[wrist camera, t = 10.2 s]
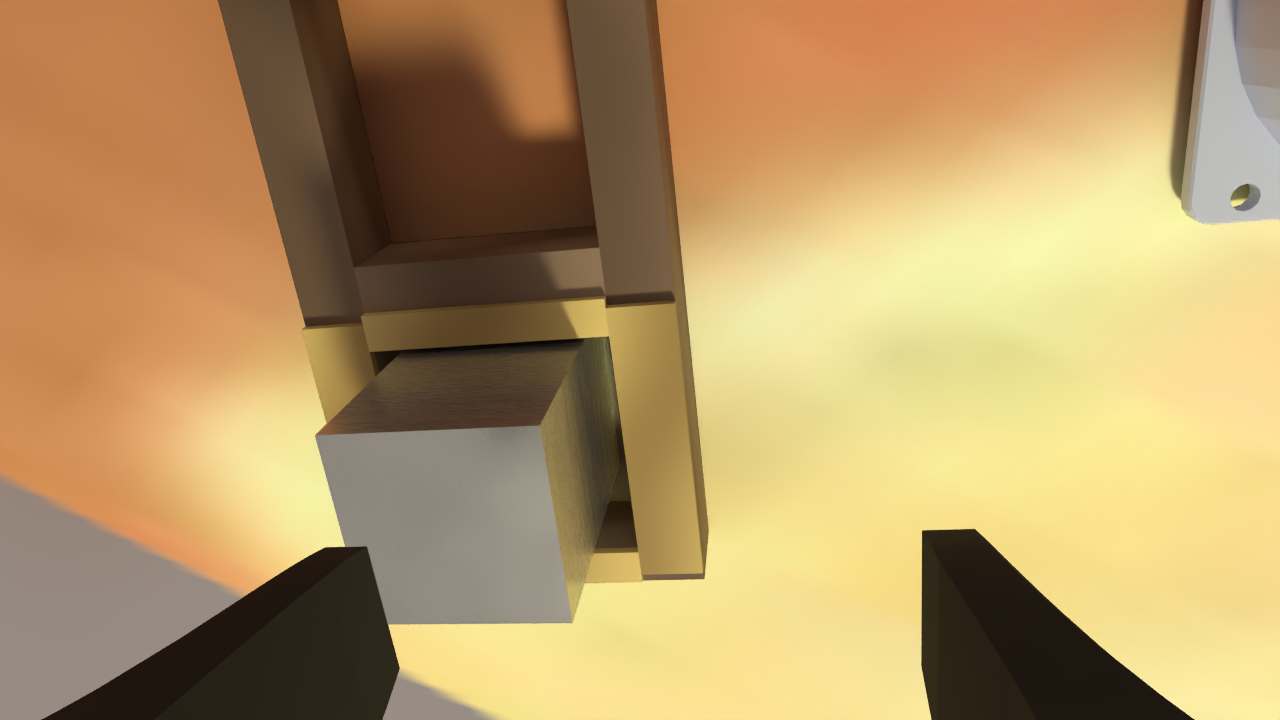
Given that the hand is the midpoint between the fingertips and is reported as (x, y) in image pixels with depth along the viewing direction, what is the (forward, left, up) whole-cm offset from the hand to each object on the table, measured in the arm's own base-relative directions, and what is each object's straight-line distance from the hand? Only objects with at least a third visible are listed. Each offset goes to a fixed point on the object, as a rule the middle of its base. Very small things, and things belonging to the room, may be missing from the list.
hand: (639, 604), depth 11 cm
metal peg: (+4, +1, -10) cm, 10 cm away
